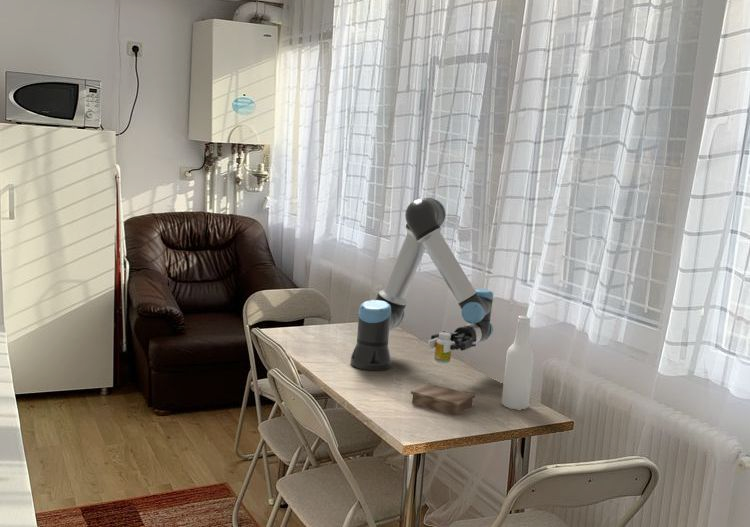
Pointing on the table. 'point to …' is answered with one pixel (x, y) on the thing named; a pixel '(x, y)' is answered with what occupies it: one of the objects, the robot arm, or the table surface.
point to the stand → (442, 399)
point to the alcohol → (518, 368)
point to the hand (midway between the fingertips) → (436, 346)
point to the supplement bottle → (442, 348)
